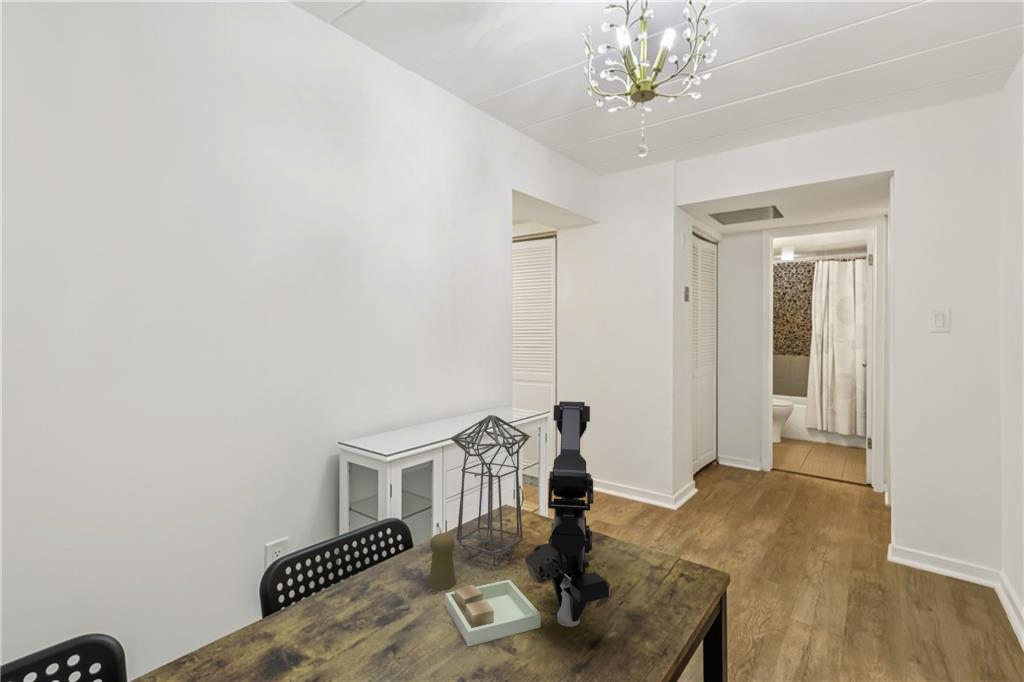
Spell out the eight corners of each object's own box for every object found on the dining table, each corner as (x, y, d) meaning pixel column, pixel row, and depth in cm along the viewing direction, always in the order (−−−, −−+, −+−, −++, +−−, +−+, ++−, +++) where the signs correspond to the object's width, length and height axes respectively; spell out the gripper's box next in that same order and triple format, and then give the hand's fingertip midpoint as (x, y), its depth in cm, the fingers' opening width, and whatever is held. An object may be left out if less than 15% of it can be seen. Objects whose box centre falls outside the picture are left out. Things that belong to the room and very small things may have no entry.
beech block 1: (472, 604, 99) (472, 584, 99) (482, 613, 96) (482, 593, 96) (454, 610, 97) (454, 590, 97) (464, 620, 94) (464, 599, 94)
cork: (450, 594, 104) (451, 542, 104) (423, 591, 105) (424, 539, 105) (459, 580, 110) (460, 531, 110) (433, 577, 111) (434, 529, 111)
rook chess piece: (582, 618, 95) (582, 577, 95) (577, 632, 91) (578, 588, 91) (559, 614, 97) (560, 573, 97) (554, 627, 93) (554, 584, 93)
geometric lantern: (445, 563, 118) (446, 416, 119) (481, 541, 132) (482, 409, 132) (502, 579, 110) (503, 421, 111) (534, 554, 124) (534, 413, 125)
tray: (509, 594, 104) (509, 579, 104) (540, 630, 92) (540, 613, 92) (445, 608, 99) (445, 593, 99) (468, 649, 86) (468, 632, 86)
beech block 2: (485, 620, 94) (485, 599, 94) (493, 632, 90) (493, 610, 90) (465, 625, 92) (465, 604, 92) (472, 637, 88) (472, 615, 88)
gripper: (510, 521, 99) (509, 599, 99) (556, 560, 82) (555, 654, 82) (558, 513, 104) (558, 588, 104) (612, 549, 87) (611, 638, 87)
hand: (568, 614), depth 94 cm, fingers closed on rook chess piece, 4 cm apart
